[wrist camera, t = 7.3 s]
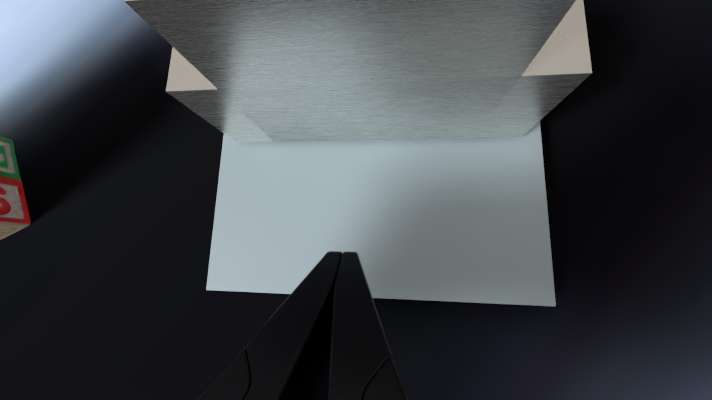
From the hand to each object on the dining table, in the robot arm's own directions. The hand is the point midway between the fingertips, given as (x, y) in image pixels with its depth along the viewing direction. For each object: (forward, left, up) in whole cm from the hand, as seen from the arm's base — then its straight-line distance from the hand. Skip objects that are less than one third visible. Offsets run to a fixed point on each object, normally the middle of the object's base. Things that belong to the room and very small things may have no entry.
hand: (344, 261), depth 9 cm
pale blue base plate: (+8, -3, -7) cm, 11 cm away
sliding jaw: (+8, 0, -5) cm, 9 cm away
